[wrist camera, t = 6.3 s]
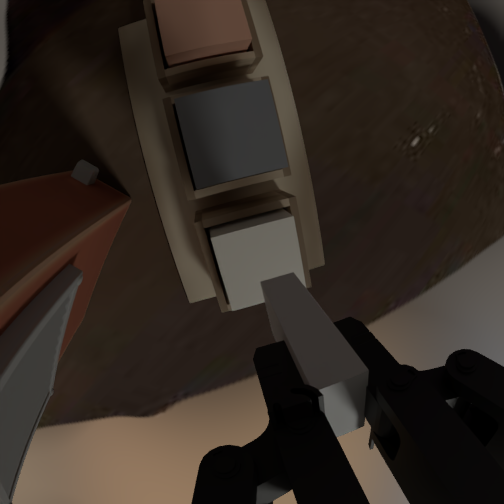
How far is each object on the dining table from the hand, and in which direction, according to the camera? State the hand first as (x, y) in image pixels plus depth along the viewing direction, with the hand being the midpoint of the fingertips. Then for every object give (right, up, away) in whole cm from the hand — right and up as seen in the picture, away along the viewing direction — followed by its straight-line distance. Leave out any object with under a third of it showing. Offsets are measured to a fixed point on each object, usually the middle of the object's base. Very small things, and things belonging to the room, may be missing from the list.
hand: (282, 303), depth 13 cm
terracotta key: (-5, +17, +3) cm, 18 cm away
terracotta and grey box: (-16, +2, +9) cm, 18 cm away
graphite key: (-3, +10, +5) cm, 11 cm away
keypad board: (-4, +11, +8) cm, 14 cm away
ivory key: (-1, +3, +9) cm, 9 cm away
